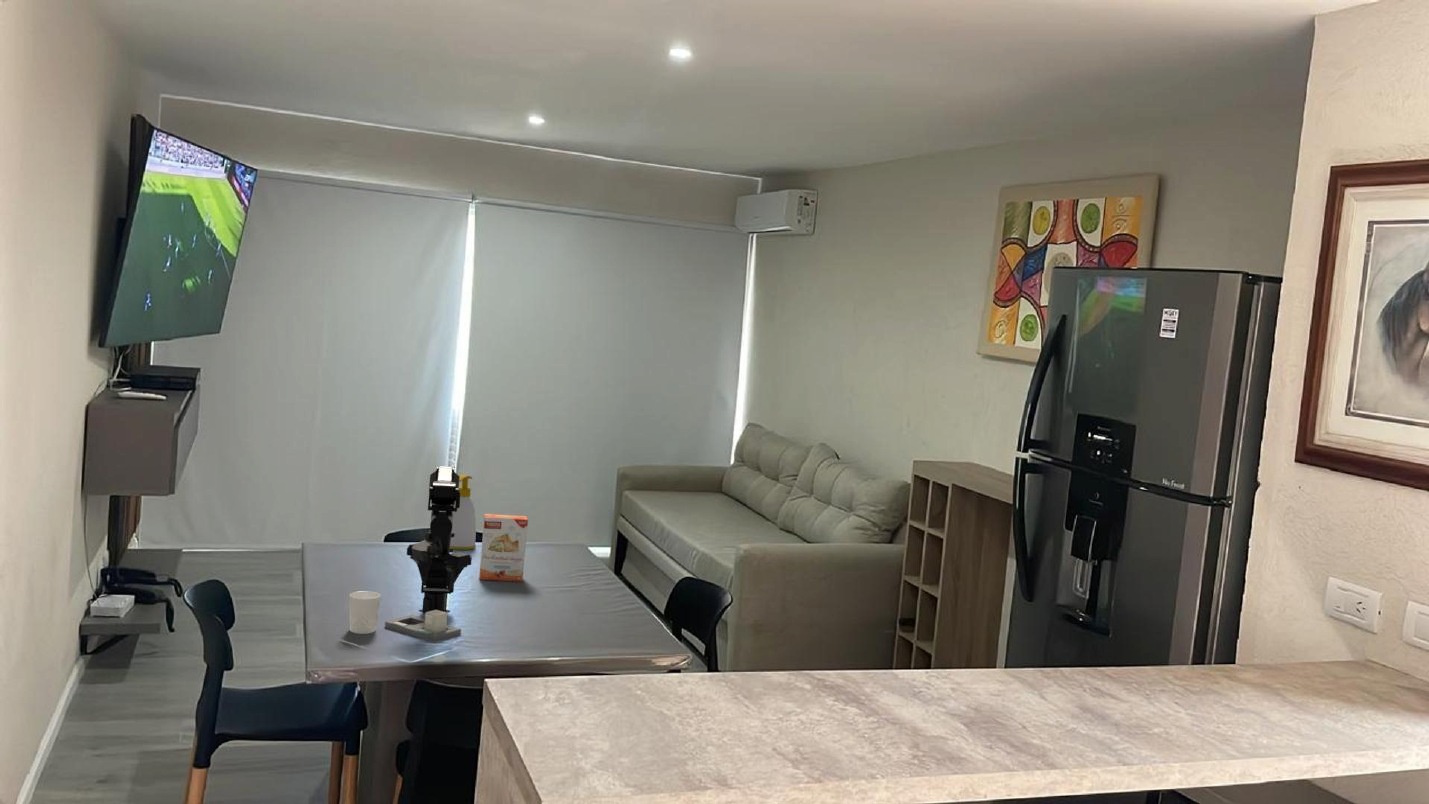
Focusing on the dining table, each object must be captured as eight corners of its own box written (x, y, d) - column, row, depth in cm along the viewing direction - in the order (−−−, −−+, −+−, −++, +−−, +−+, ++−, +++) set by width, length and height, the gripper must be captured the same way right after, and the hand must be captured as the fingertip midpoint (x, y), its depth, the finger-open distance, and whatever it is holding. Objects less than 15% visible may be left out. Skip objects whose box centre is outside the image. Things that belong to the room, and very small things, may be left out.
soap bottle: (438, 548, 404) (444, 475, 402) (451, 542, 416) (456, 471, 413) (468, 552, 402) (474, 479, 400) (480, 546, 414) (486, 475, 412)
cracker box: (479, 580, 366) (484, 516, 364) (479, 575, 371) (484, 513, 370) (523, 582, 368) (528, 519, 367) (522, 577, 374) (527, 515, 373)
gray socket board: (411, 621, 315) (412, 613, 315) (460, 636, 306) (461, 628, 306) (384, 628, 306) (385, 620, 306) (434, 644, 297) (434, 635, 297)
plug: (434, 631, 307) (436, 609, 306) (445, 634, 305) (447, 612, 304) (421, 634, 302) (423, 613, 302) (432, 638, 300) (434, 616, 300)
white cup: (368, 637, 297) (371, 600, 297) (341, 633, 299) (344, 596, 298) (383, 630, 305) (386, 593, 304) (356, 625, 307) (359, 589, 306)
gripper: (393, 526, 303) (389, 584, 305) (445, 539, 294) (441, 598, 296) (423, 522, 313) (419, 577, 314) (474, 534, 304) (470, 591, 305)
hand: (436, 586), depth 307 cm, fingers open, 9 cm apart
